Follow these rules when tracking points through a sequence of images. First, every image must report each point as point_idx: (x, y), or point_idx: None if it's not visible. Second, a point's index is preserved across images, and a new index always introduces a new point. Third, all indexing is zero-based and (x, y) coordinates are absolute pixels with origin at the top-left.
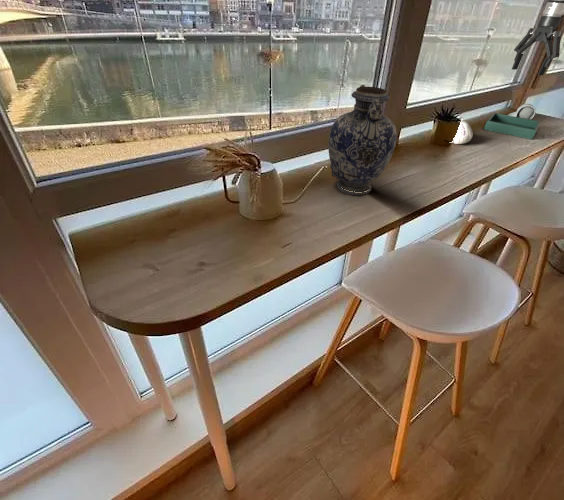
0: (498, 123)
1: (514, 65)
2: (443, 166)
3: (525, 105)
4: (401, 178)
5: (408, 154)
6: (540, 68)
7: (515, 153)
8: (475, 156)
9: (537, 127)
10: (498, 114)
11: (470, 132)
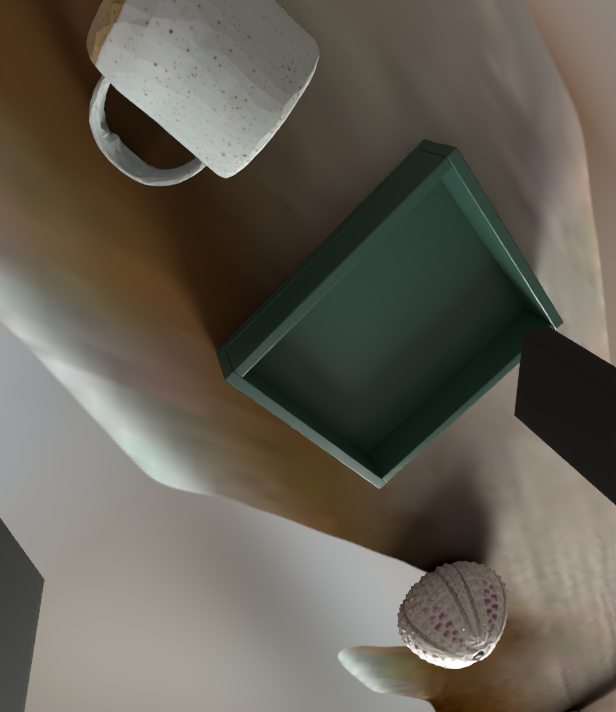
0: (421, 449)
1: (32, 651)
2: (561, 627)
3: (246, 134)
4: (565, 682)
5: (487, 679)
6: (586, 477)
7: None
8: (553, 561)
9: (533, 277)
10: (256, 361)
11: (507, 601)
